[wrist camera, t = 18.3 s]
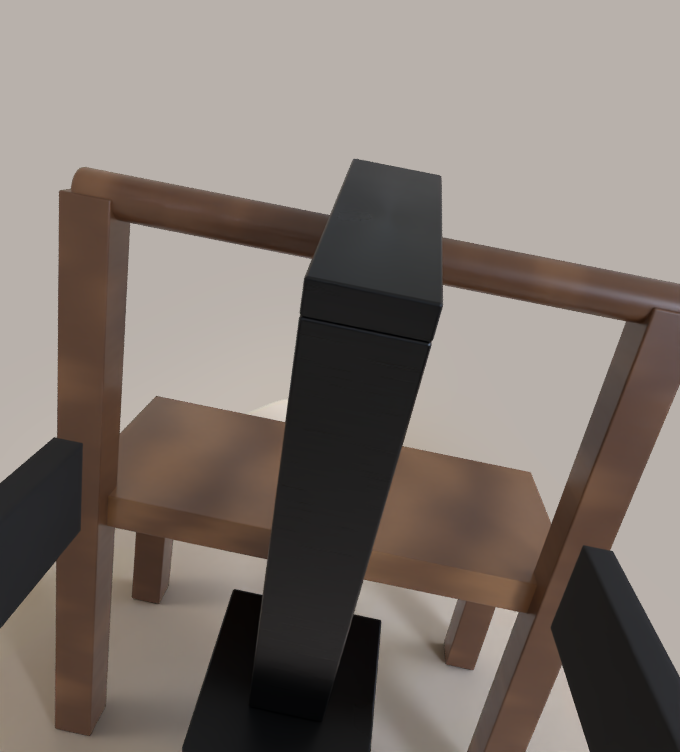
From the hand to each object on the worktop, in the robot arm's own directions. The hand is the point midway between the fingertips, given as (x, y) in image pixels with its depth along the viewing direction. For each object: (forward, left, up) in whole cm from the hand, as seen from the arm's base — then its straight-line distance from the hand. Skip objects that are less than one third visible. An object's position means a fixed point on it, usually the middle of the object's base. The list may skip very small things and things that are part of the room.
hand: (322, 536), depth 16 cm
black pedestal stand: (-2, +7, -12) cm, 14 cm away
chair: (-2, +9, -16) cm, 19 cm away
